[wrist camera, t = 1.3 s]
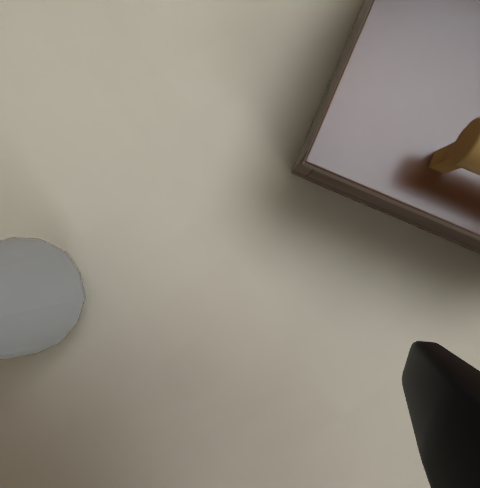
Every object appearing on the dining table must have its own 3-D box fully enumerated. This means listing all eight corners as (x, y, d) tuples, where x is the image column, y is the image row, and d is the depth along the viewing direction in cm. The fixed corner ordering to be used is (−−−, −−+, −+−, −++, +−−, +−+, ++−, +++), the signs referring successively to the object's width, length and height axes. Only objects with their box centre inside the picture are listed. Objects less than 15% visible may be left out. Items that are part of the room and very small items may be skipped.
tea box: (516, 269, 22) (618, 278, 16) (290, 173, 22) (309, 147, 16) (598, 76, 22) (731, 14, 16) (372, -20, 22) (421, -117, 16)
